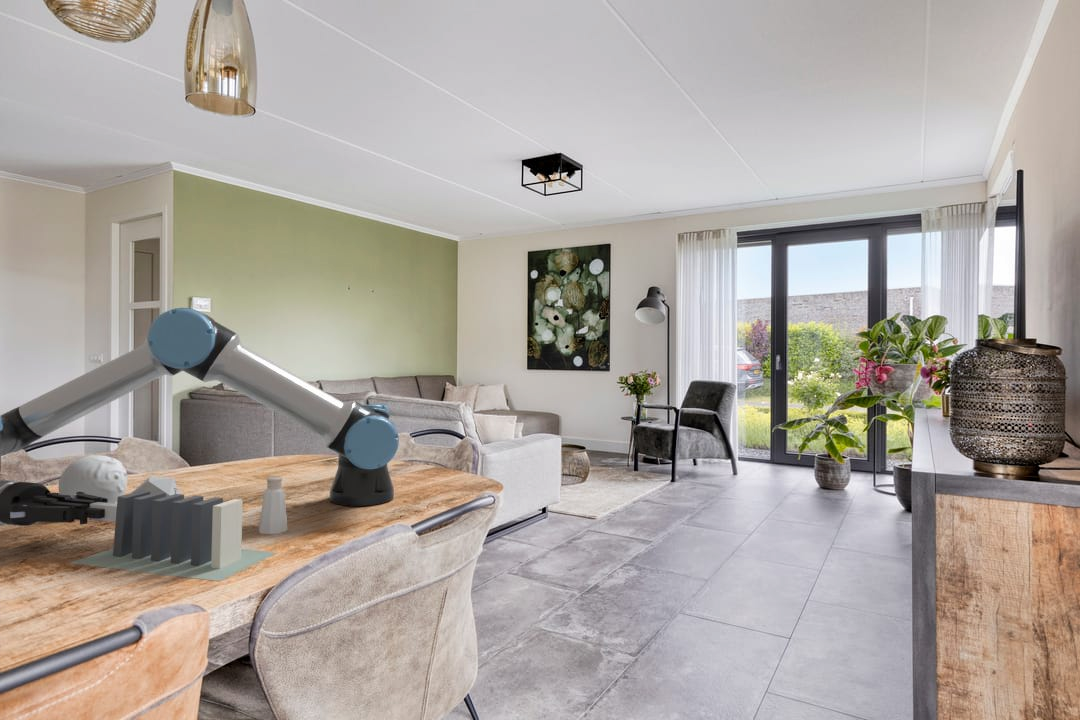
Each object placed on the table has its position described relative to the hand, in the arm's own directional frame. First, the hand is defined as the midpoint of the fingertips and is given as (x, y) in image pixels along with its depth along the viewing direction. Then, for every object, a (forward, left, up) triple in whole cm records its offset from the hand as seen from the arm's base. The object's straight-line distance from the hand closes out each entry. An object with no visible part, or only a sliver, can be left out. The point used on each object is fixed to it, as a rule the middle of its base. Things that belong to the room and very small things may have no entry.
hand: (124, 513), depth 104 cm
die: (+7, -28, -8) cm, 30 cm away
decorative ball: (+21, -31, -8) cm, 38 cm away
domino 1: (-1, 0, -7) cm, 7 cm away
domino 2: (-4, +1, -7) cm, 8 cm away
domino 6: (-19, +6, -7) cm, 21 cm away
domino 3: (-8, +2, -7) cm, 11 cm away
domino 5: (-15, +5, -7) cm, 17 cm away
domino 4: (-12, +4, -7) cm, 14 cm away
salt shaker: (-21, -13, -8) cm, 26 cm away
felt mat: (-10, +3, -7) cm, 13 cm away
